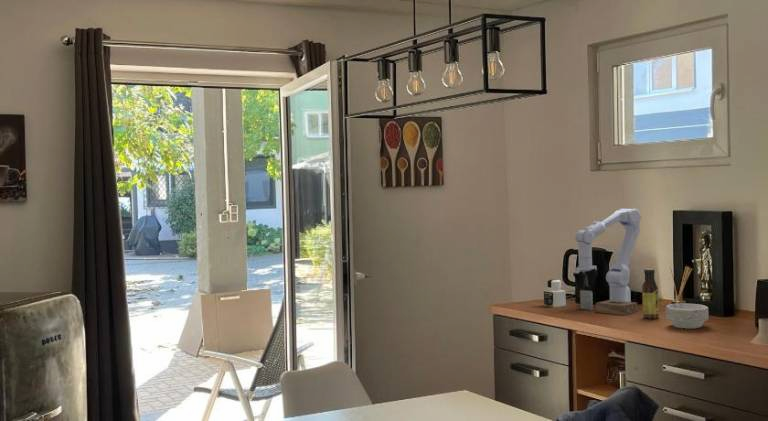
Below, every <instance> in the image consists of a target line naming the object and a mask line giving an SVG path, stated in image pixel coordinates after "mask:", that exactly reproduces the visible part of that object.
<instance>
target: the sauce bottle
mask: <svg viewBox="0 0 768 421" xmlns="http://www.w3.org/2000/svg"><path fill="white" fill-rule="evenodd" d="M643 272H644V282H643V283H642V287H641V289H642V294H641V296H642V297H641V299H642V316H643V318H645V319H658V318H660V317H659V316H660V315H659V314H660V310H659V309H660V304H659V303H660V301H659V287H658V285H657V282H656V280H655V273H656V271H655V269H654V268H647V269H643Z"/></svg>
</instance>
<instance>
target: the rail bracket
mask: <svg viewBox="0 0 768 421" xmlns="http://www.w3.org/2000/svg"><path fill="white" fill-rule="evenodd" d="M579 295H580V296H579V298H580V300H579V301H580V310H586V311H591V310H593V309H594V306H593V305H594V304H593V303H594V301H593V298H594V297H593V291H592V290H580V291H579Z"/></svg>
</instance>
